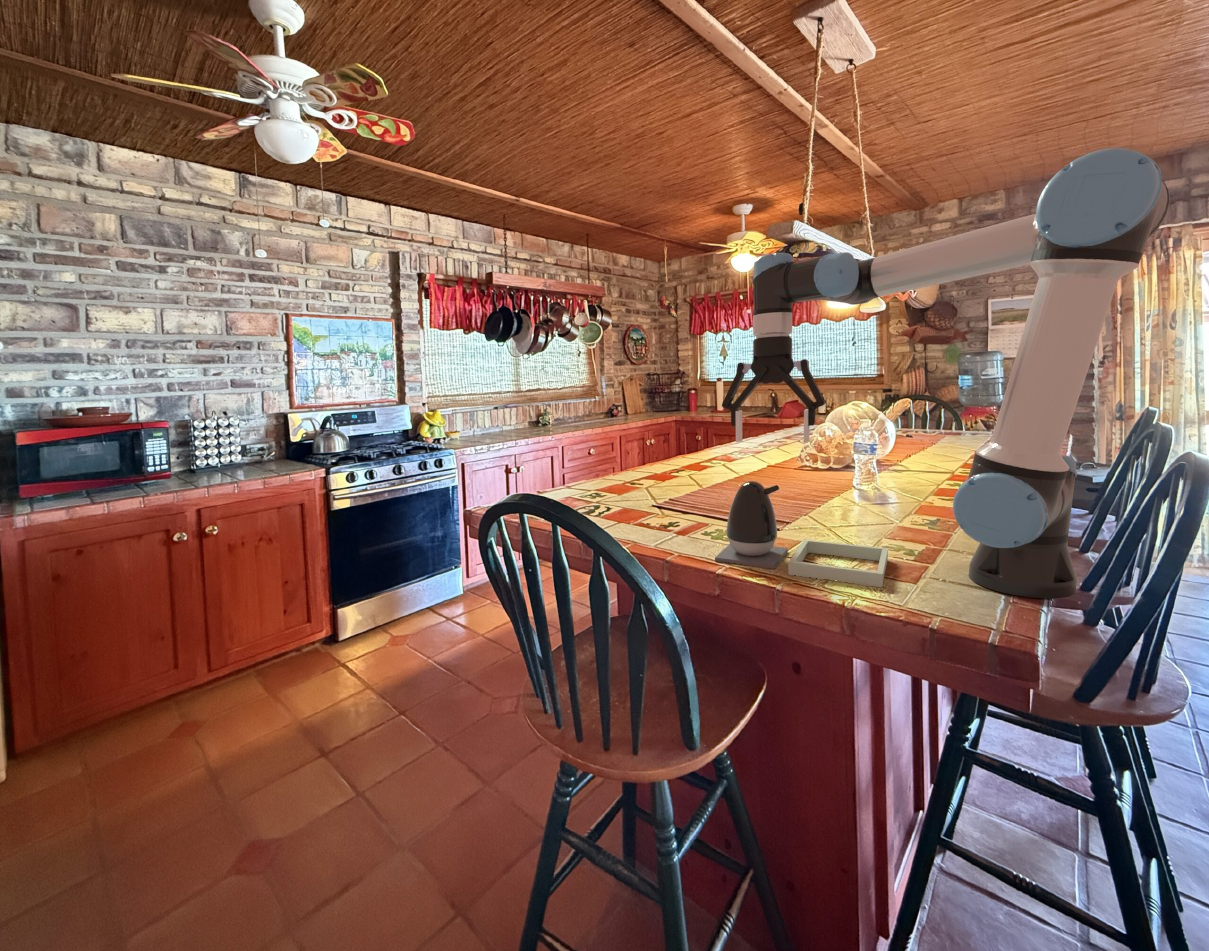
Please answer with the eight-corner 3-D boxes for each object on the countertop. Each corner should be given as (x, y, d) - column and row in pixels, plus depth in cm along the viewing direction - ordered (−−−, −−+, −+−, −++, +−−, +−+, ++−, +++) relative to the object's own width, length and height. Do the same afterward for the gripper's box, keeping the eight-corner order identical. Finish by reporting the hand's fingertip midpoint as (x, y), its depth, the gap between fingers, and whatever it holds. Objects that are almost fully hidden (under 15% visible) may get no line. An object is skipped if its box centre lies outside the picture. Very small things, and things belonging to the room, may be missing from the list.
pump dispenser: (780, 561, 111) (781, 486, 109) (726, 559, 114) (727, 486, 111) (775, 545, 121) (776, 476, 119) (726, 544, 123) (726, 476, 121)
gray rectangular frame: (887, 560, 112) (888, 548, 112) (882, 587, 99) (882, 574, 98) (803, 550, 120) (804, 539, 120) (788, 574, 106) (788, 562, 106)
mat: (787, 551, 120) (787, 547, 120) (774, 569, 110) (774, 565, 109) (732, 544, 126) (732, 541, 125) (714, 561, 115) (714, 557, 115)
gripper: (841, 332, 110) (838, 440, 114) (716, 341, 122) (717, 439, 125) (837, 330, 104) (834, 444, 107) (706, 340, 115) (707, 443, 119)
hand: (771, 441), depth 116 cm, fingers open, 13 cm apart
